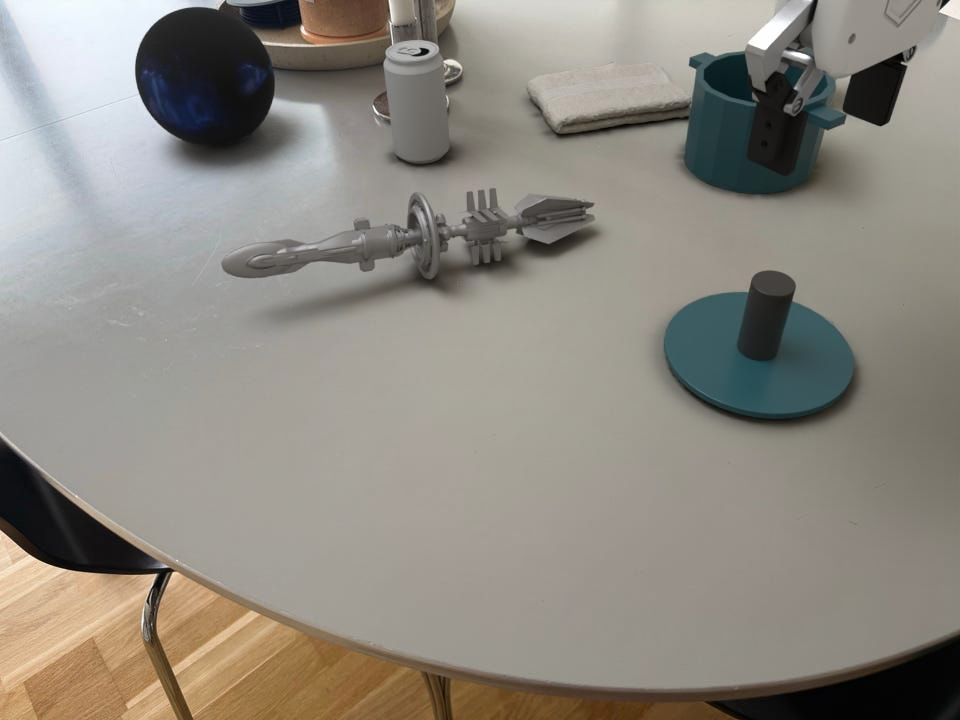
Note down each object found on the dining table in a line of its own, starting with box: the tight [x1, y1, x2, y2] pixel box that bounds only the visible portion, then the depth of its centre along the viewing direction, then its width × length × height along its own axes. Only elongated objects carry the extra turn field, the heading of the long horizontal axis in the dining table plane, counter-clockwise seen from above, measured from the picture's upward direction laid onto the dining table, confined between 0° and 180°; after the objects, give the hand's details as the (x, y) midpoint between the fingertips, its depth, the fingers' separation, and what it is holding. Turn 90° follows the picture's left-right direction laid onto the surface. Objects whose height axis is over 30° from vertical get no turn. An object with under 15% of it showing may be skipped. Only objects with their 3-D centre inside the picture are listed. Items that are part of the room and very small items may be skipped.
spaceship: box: [220, 187, 596, 280], centre depth 74 cm, size 8×35×8 cm
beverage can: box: [382, 39, 451, 165], centre depth 89 cm, size 6×6×12 cm
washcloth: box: [525, 61, 693, 135], centre depth 99 cm, size 12×18×3 cm, turn 104°
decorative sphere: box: [134, 6, 276, 147], centre depth 93 cm, size 15×15×15 cm
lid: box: [663, 269, 855, 420], centre depth 64 cm, size 15×15×8 cm
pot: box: [683, 50, 848, 195], centre depth 86 cm, size 14×19×10 cm
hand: (818, 141), depth 52 cm, fingers open, 9 cm apart
